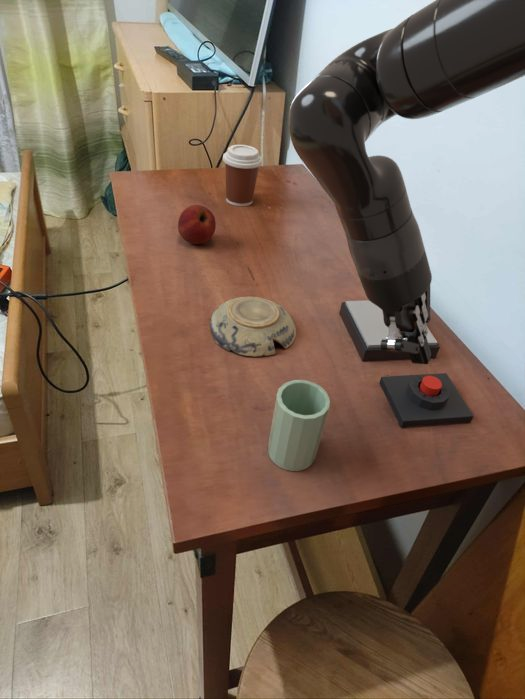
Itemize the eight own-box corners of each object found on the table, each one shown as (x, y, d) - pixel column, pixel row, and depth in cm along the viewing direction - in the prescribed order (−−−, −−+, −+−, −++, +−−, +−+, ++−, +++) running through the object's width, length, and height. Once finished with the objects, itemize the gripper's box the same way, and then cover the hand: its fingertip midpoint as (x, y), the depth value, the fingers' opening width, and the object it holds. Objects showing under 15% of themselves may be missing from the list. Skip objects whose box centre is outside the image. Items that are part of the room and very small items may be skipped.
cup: (308, 430, 70) (322, 378, 63) (320, 469, 65) (336, 416, 58) (263, 434, 68) (272, 381, 62) (272, 473, 64) (283, 420, 57)
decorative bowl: (241, 292, 93) (188, 329, 83) (243, 274, 91) (188, 311, 81) (311, 326, 88) (263, 371, 78) (315, 309, 86) (266, 353, 75)
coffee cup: (225, 189, 126) (228, 140, 119) (261, 196, 126) (266, 146, 118) (216, 204, 119) (218, 153, 112) (253, 211, 119) (259, 160, 111)
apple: (184, 253, 101) (184, 215, 96) (173, 234, 107) (172, 198, 101) (219, 248, 104) (221, 212, 99) (206, 230, 109) (207, 195, 104)
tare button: (433, 382, 76) (437, 375, 75) (441, 396, 74) (445, 388, 73) (416, 383, 75) (419, 376, 74) (424, 397, 73) (427, 389, 72)
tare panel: (443, 379, 81) (450, 365, 79) (470, 422, 74) (478, 408, 72) (378, 382, 78) (383, 368, 76) (400, 427, 72) (406, 413, 70)
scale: (405, 311, 94) (410, 297, 92) (435, 358, 85) (441, 344, 83) (339, 312, 91) (342, 299, 90) (362, 361, 82) (366, 347, 80)
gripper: (404, 295, 50) (438, 403, 61) (438, 214, 57) (463, 324, 67) (336, 296, 54) (379, 396, 65) (375, 220, 61) (408, 322, 72)
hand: (422, 359), depth 66 cm, fingers closed
